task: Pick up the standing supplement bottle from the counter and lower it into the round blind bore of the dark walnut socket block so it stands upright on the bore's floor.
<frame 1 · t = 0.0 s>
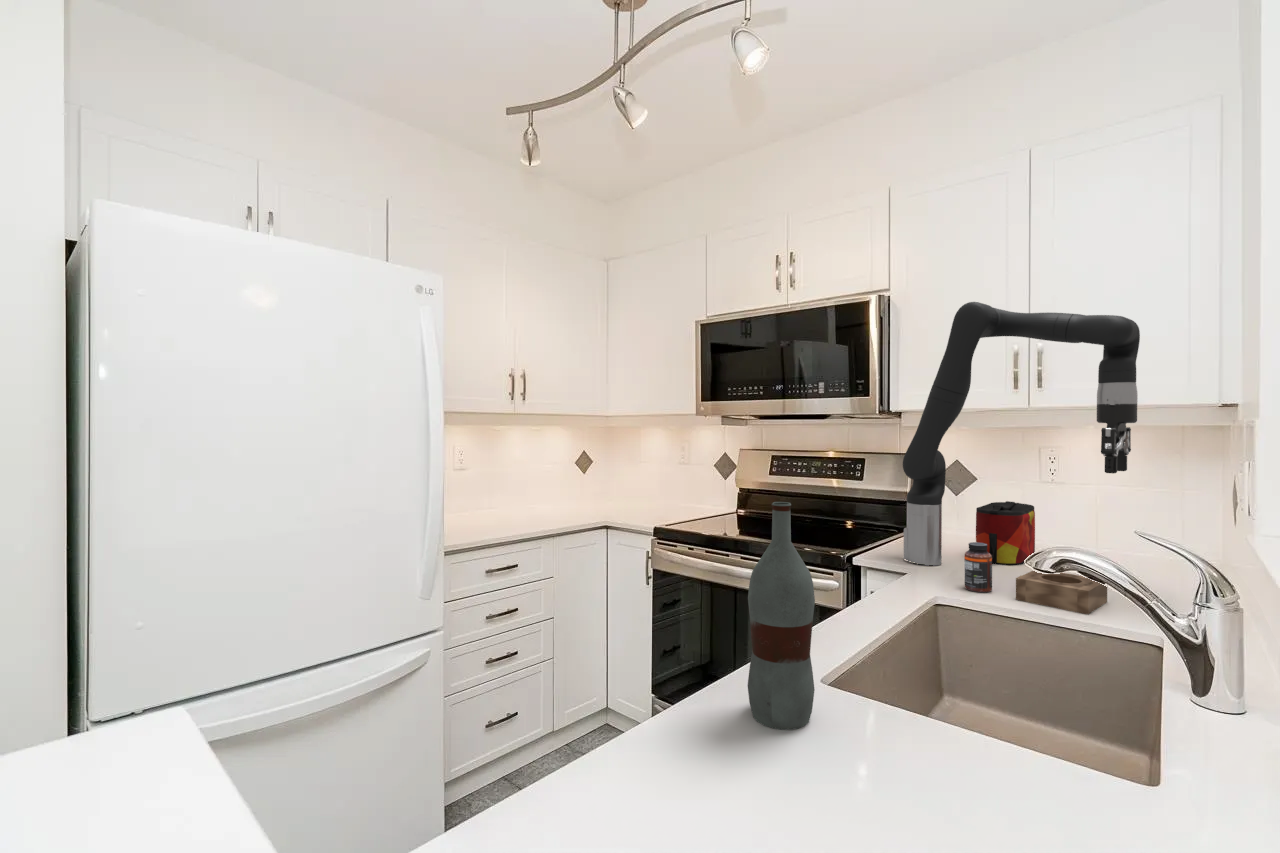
hand: (1115, 472, 144), 29 cm above the worktop, fingers open, 8 cm apart
patterned lidded canister: (1002, 558, 186), on the worktop
socket block: (1061, 600, 142), on the worktop
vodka: (780, 716, 87), on the worktop
supplement bottle: (978, 590, 151), on the worktop
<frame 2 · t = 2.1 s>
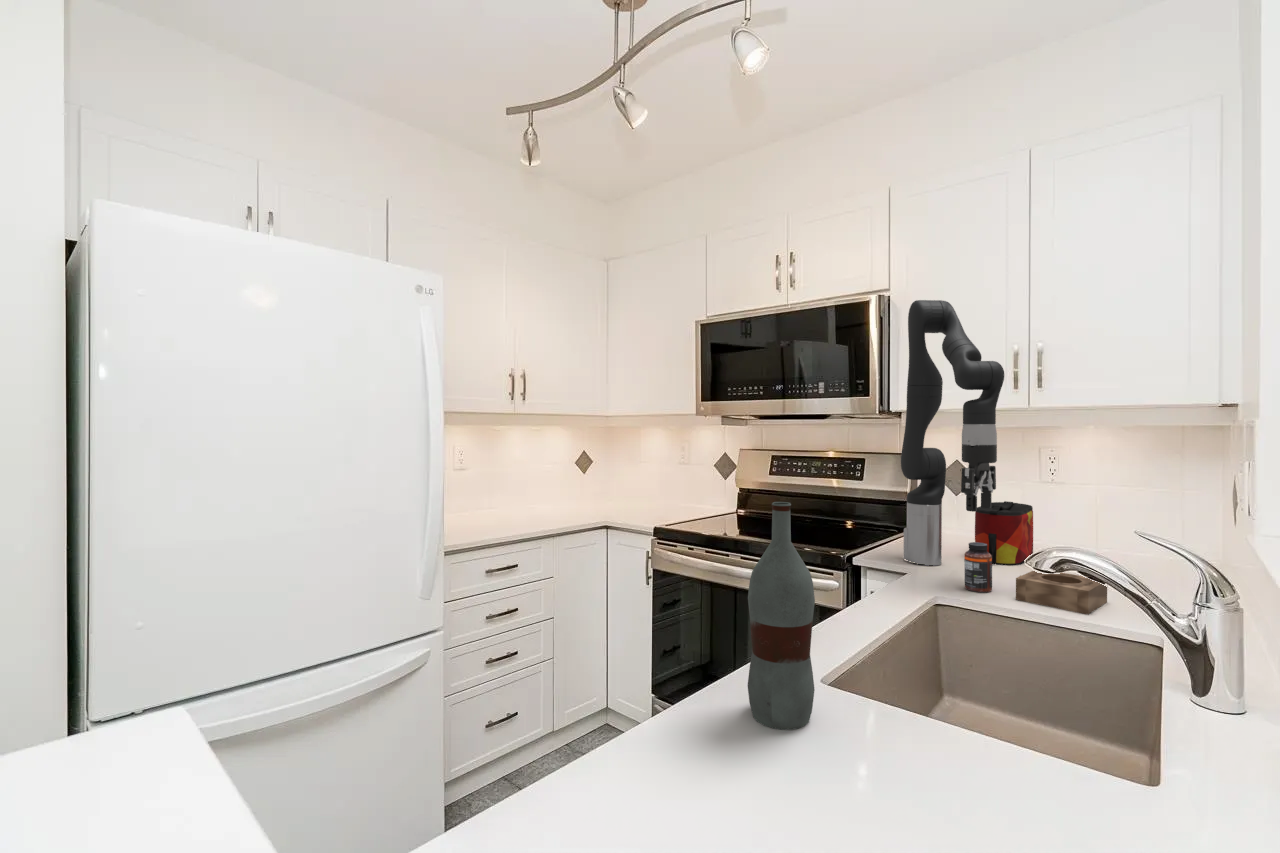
hand: (978, 509, 151), 20 cm above the worktop, fingers open, 8 cm apart
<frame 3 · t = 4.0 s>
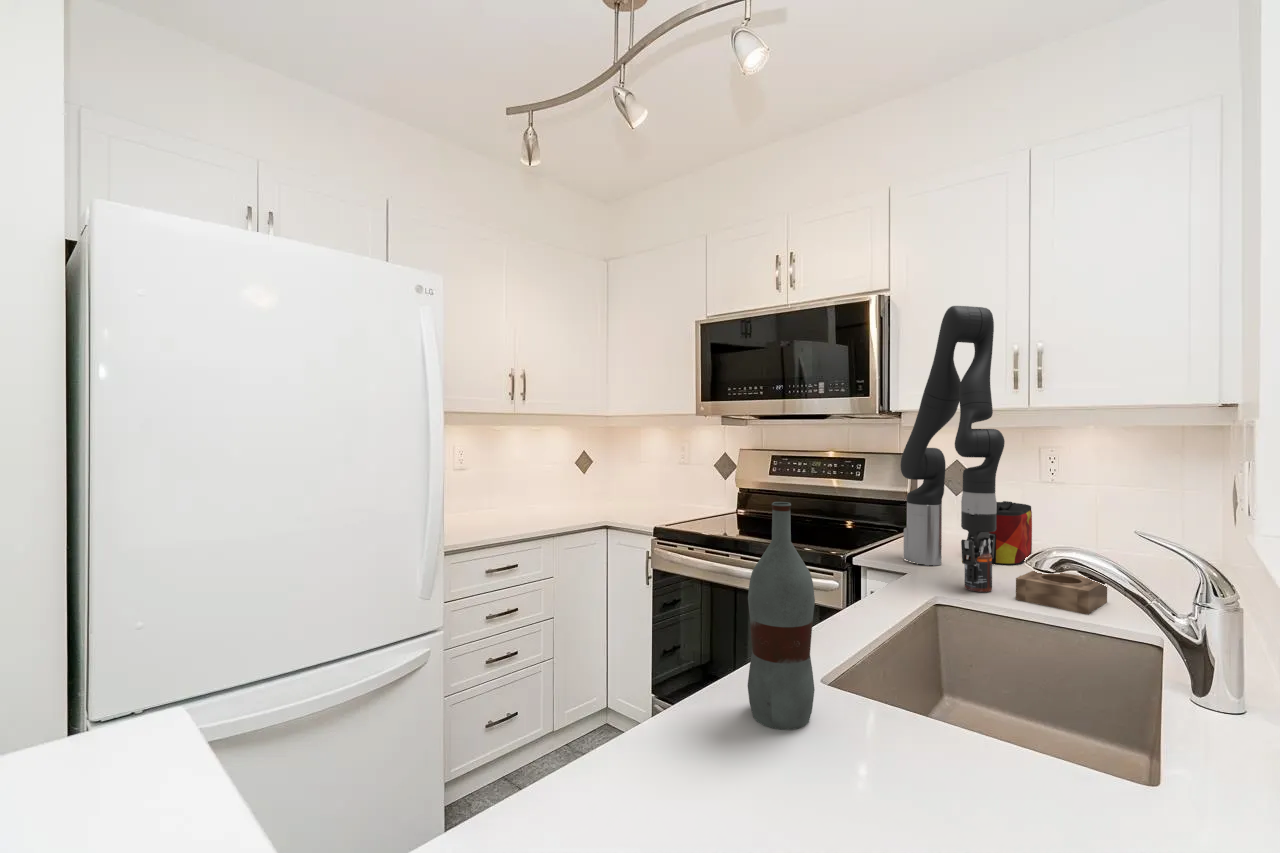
hand: (978, 579, 151), 3 cm above the worktop, fingers closed on supplement bottle, 6 cm apart
supplement bottle: (978, 590, 151), on the worktop, touching gripper
everything else where it was.
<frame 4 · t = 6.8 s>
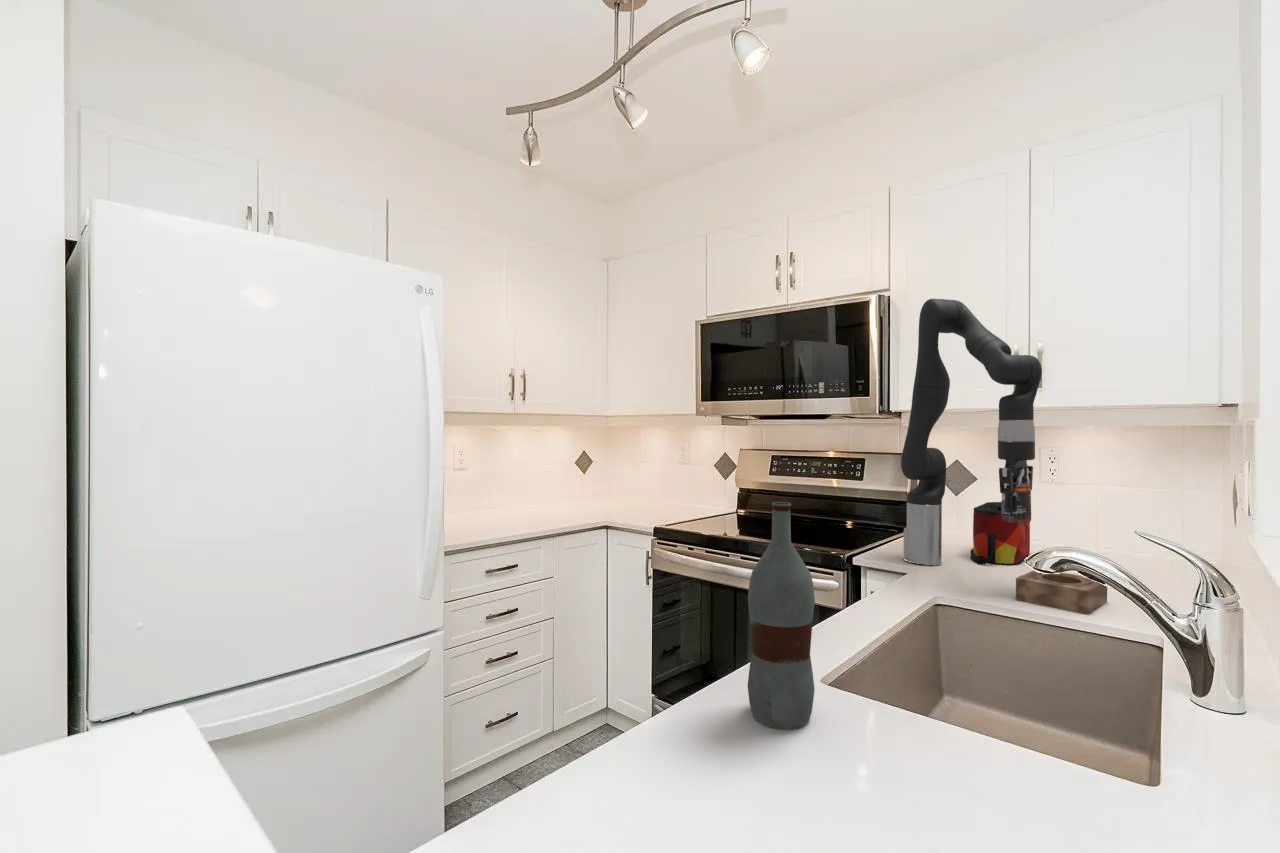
hand: (1016, 510, 146), 20 cm above the worktop, fingers closed on supplement bottle, 6 cm apart
supplement bottle: (1016, 522, 146), point 17 cm above the worktop, touching gripper
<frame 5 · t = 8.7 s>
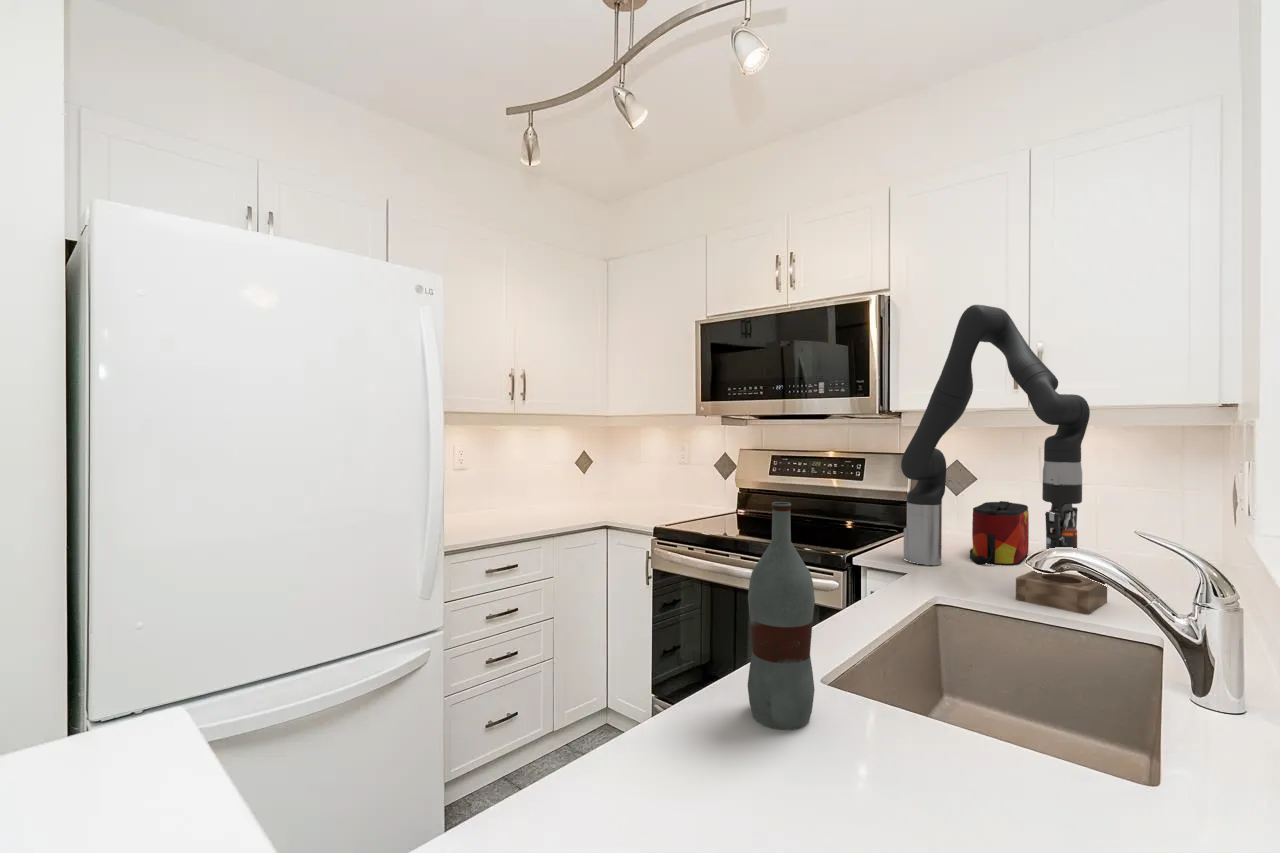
hand: (1061, 554, 142), 11 cm above the worktop, fingers closed on supplement bottle, 6 cm apart
supplement bottle: (1061, 566, 142), point 8 cm above the worktop, touching gripper
when the fingers open (7 cm above the worktop, at t = 9.9 s): supplement bottle drops 3 cm, resting on socket block.
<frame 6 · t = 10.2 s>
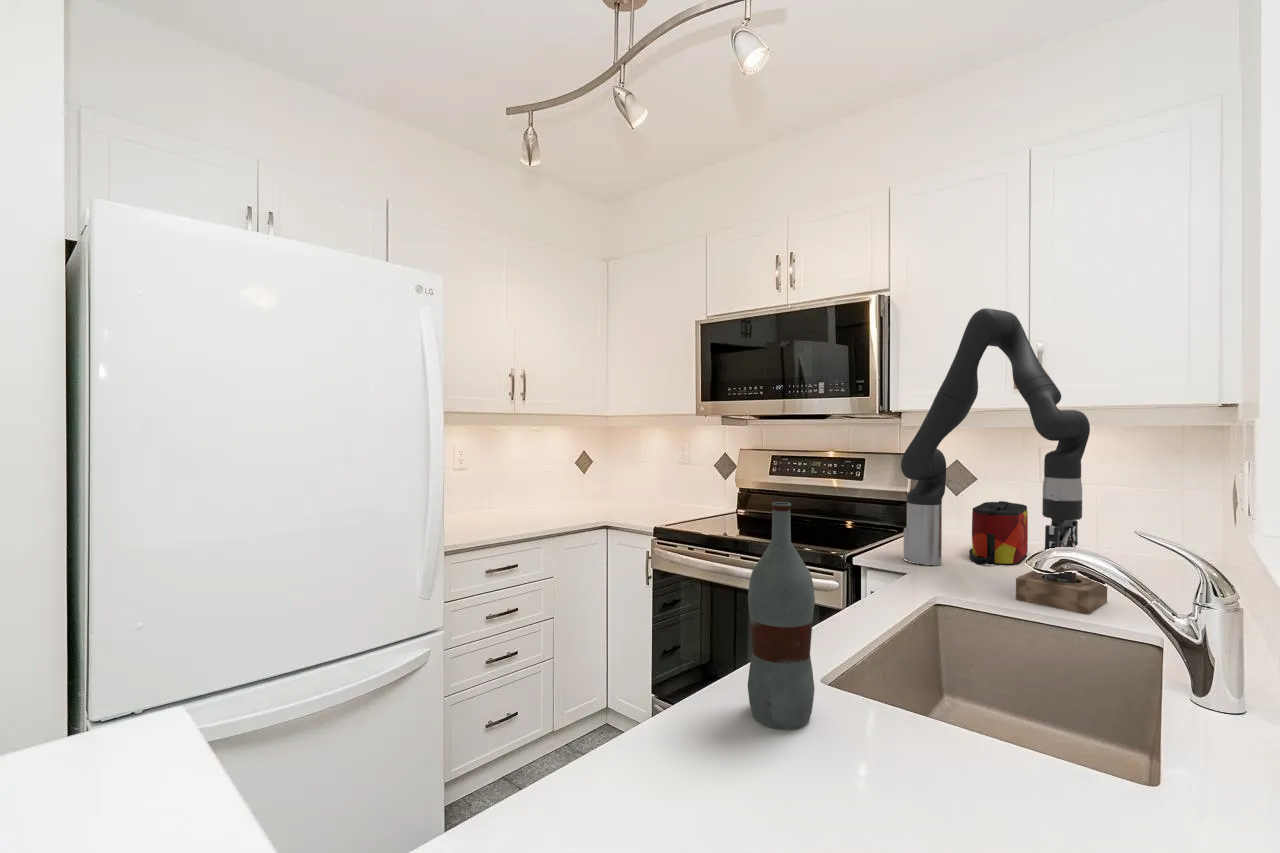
hand: (1061, 567, 142), 8 cm above the worktop, fingers open, 8 cm apart
supplement bottle: (1060, 595, 142), point 1 cm above the worktop, touching socket block
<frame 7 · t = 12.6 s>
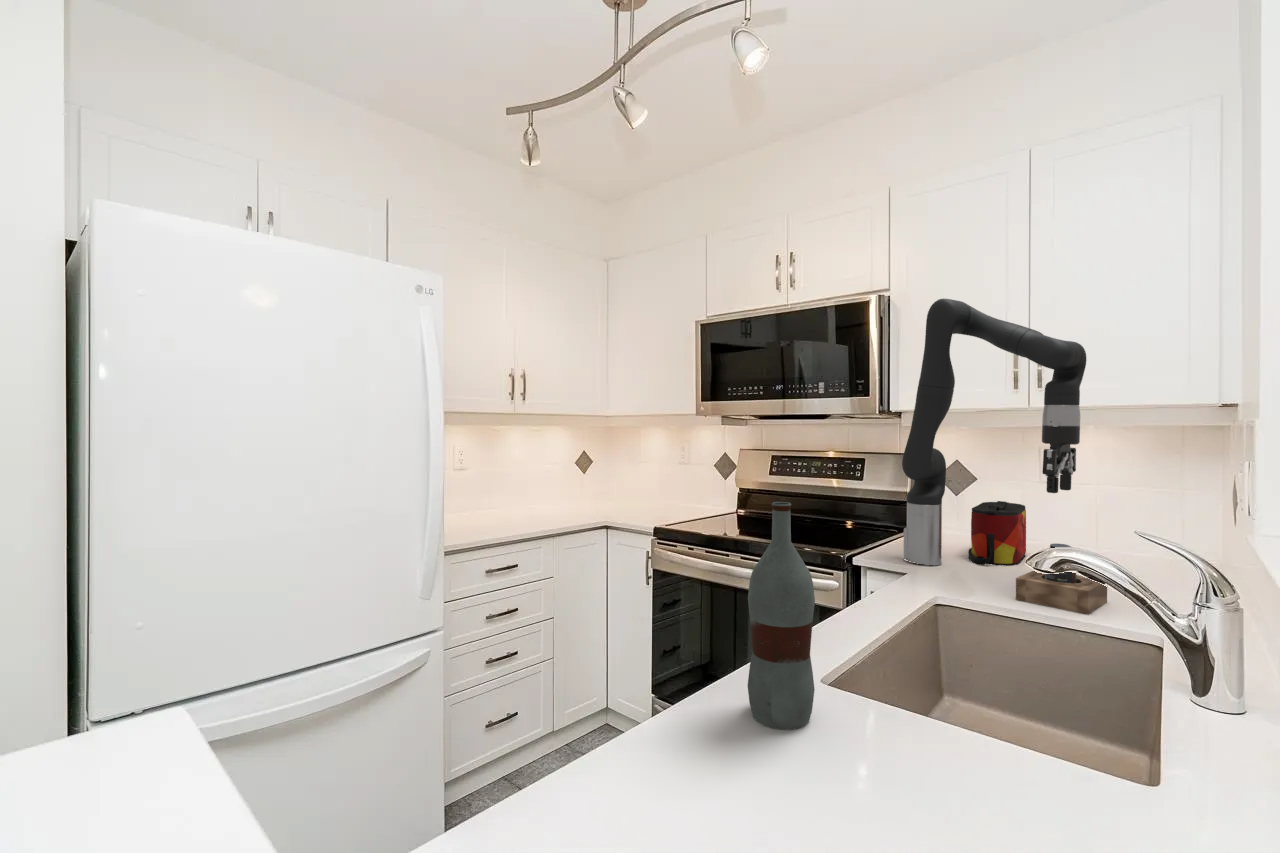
hand: (1058, 491, 149), 24 cm above the worktop, fingers open, 8 cm apart
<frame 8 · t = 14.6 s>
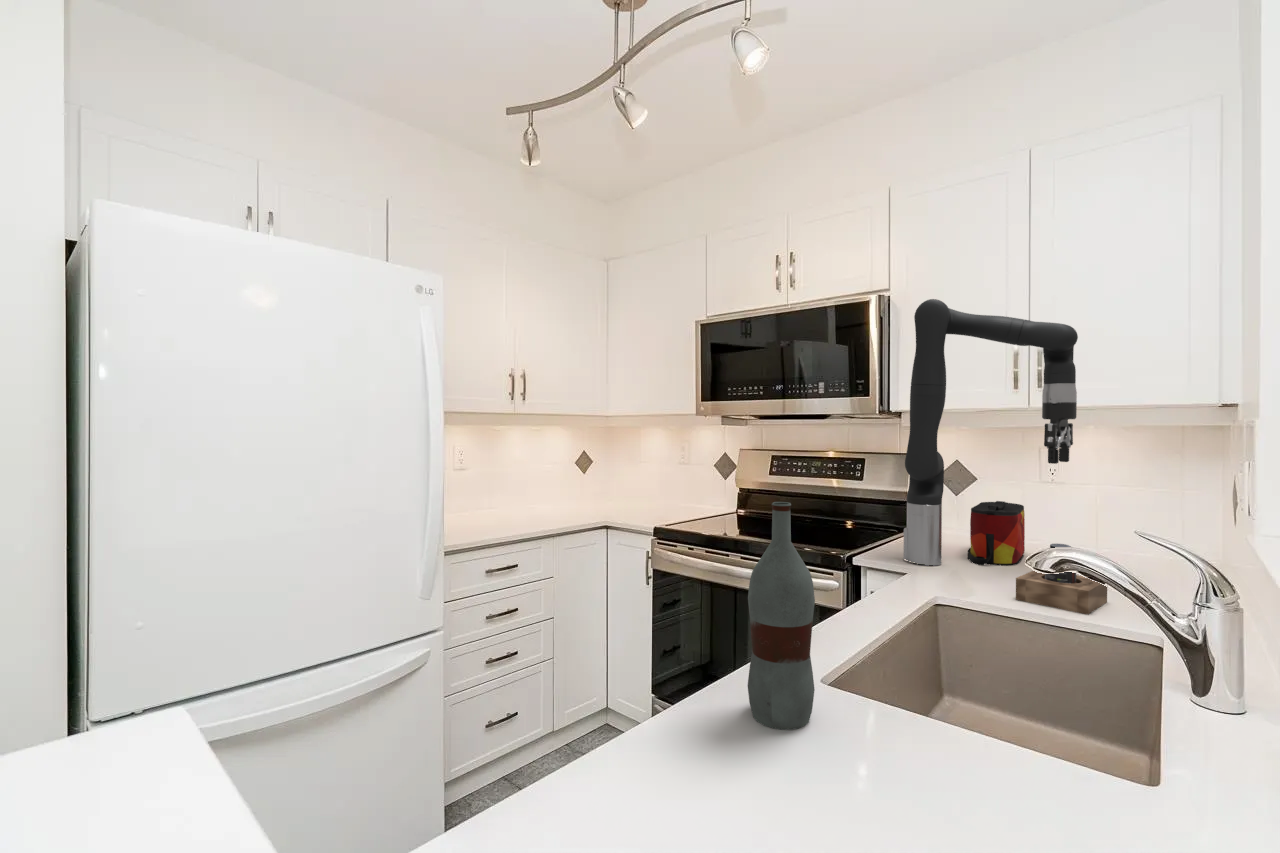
hand: (1058, 462, 163), 30 cm above the worktop, fingers open, 8 cm apart
at the end: supplement bottle 0.2 cm off-centre on the socket block, point 1.3 cm above the socket block's base; supplement bottle tilted 0°; the gripper is holding nothing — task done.
